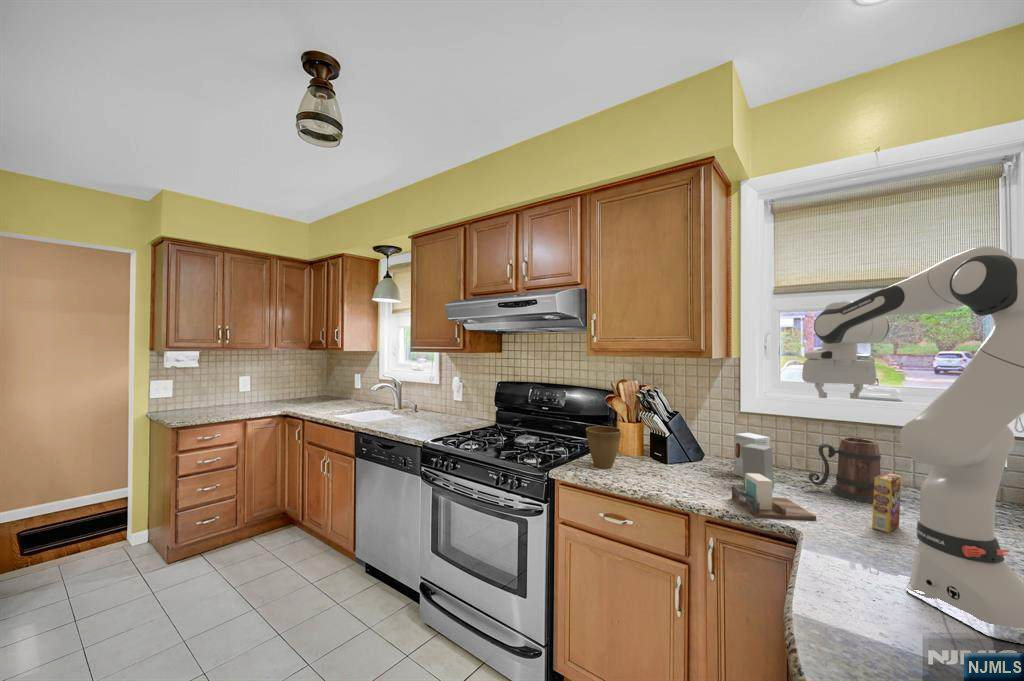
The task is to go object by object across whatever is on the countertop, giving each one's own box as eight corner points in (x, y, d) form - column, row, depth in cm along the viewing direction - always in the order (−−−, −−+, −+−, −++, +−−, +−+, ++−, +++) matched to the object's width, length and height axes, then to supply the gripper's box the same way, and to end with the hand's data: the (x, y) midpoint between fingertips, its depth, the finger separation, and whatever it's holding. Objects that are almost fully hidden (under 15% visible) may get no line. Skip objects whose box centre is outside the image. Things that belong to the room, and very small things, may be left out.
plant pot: (600, 459, 194) (600, 424, 194) (627, 467, 183) (628, 430, 183) (578, 465, 185) (578, 428, 185) (605, 473, 173) (606, 434, 173)
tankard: (875, 491, 159) (876, 437, 159) (899, 507, 143) (900, 447, 143) (802, 483, 166) (802, 432, 167) (817, 497, 150) (818, 441, 151)
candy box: (890, 533, 122) (891, 480, 122) (871, 528, 126) (872, 476, 126) (900, 527, 127) (901, 475, 127) (882, 521, 130) (883, 471, 131)
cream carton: (758, 500, 143) (759, 473, 143) (772, 509, 135) (772, 481, 135) (744, 500, 143) (744, 473, 143) (756, 509, 135) (757, 480, 135)
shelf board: (816, 520, 130) (816, 505, 130) (754, 517, 131) (754, 503, 131) (785, 501, 146) (786, 488, 146) (730, 498, 147) (731, 486, 147)
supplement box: (732, 474, 176) (733, 433, 177) (747, 472, 180) (748, 432, 181) (754, 481, 168) (755, 438, 168) (769, 478, 172) (770, 436, 172)
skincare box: (774, 490, 158) (774, 447, 158) (763, 493, 154) (764, 449, 154) (751, 483, 165) (751, 442, 165) (740, 486, 161) (741, 444, 161)
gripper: (866, 354, 136) (865, 398, 136) (799, 352, 137) (798, 396, 137) (882, 355, 129) (881, 400, 129) (812, 353, 131) (811, 398, 131)
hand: (838, 398), depth 133 cm, fingers open, 8 cm apart
